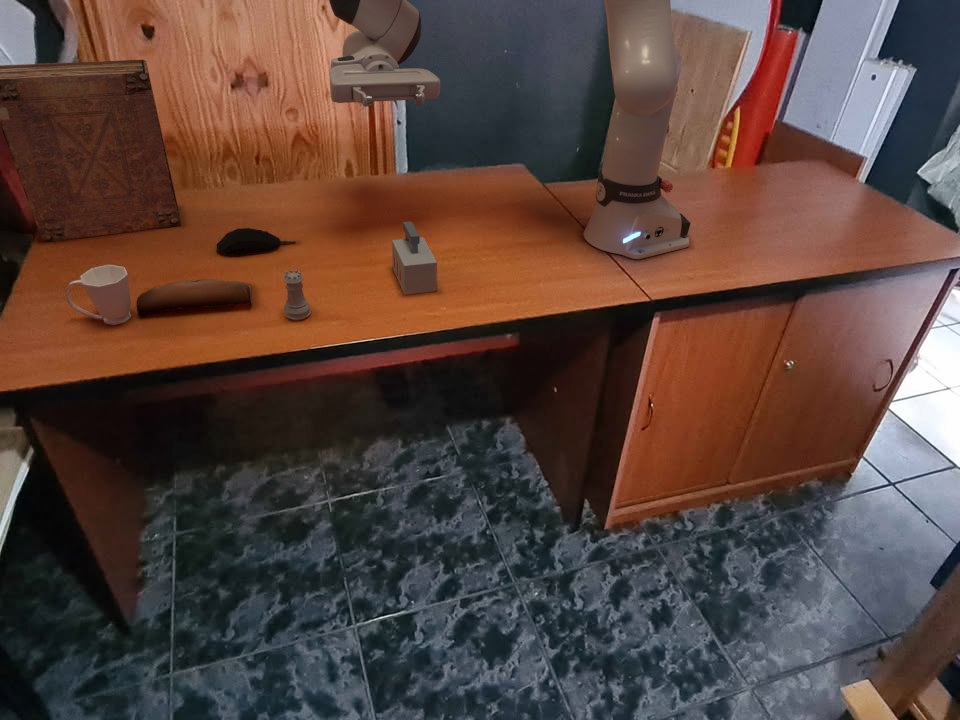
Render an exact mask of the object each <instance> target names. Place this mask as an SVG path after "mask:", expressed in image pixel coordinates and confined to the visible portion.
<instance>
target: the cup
mask: <svg viewBox="0 0 960 720" xmlns="http://www.w3.org/2000/svg"><path fill="white" fill-rule="evenodd" d="M72 286H80V287H81V286H82V287H83V288H84V290H85V291H86V293H87V295H88V297H89V299H90V301H91V302H92V304H93V306H94V308H95V310H96V311H97V312H98V314H96V313H93V312H91V311H88V310H86V309H84V308H81V307H79V306H78V305H77V304H75V303H74V301H72V299H71V296H70V289H71V287H72ZM65 299H66V302H67V304H68V305H69V306H70V307H71V308H72V310H74V311H76V312H77V313H80V314H82V315H84V316H87V317H90V318H92V319H95V320H103V322H104V324H107V325H111V326H115V325H120V324H124V323H126V322H127V321H128V320H130V319H131V318H132V314H131V292H130V281H129V274H128V271H127V269H126V268H125V266H121V265H116V264H104V265H100V266H94V267H91V268H90V269H88V270H86V271H84V272H83V273H82V274H81V275H80V276H79V279H75V280H72V281H70V282H69V283H68V285H67V287H66V288H65Z"/></svg>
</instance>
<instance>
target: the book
mask: <svg viewBox="0 0 960 720" xmlns="http://www.w3.org/2000/svg"><path fill="white" fill-rule="evenodd" d="M158 113H159V112H158V108H157V105H156V99H155V95H154V90H153V86H152V82H151V77H150V72H149V67H148V62H147V60H144V59H127V60H125V59H124V60H103V61H100V60H99V61H76V62H74V61H73V62H72V61H71V62H51V63H50V62H49V63H24V64H23V63H22V64H0V129H1V131H2V134H3V137H4V139H5V142H6V145H7V147H8V150H9V153H10V156H11V159H12V162H13V164H14V167H15V169H16V173H17V175H18V178H19V180H20V184H21V186H22V189H23V191H24V192H23V193H24V195H25V197H26V200H27V202H28V205H29V208H30V211H31V214H32V216H33V219H34V222H35V224H36V228H37V231H38V233H39V235H40V238H41V241H42V242H43V243H51V242H58V241H59V242H60V241H67V240H76V239H84V238H91V237H92V238H93V237H100V236H107V235H115V234H123V233H131V232H132V233H133V232H139V231H147V230H155V229H163V228H170V227H178V226H179V227H180V226H182V221H181V215H180V209H179V205H178V200H177V195H176V191H175V187H174V182H173V178H172V173H171V168H170V164H169V158H168V155H167V150H166V145H165V141H164V136H163V132H162V127H161V122H160V118H159V114H158Z"/></svg>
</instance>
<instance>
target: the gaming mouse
mask: <svg viewBox="0 0 960 720" xmlns="http://www.w3.org/2000/svg"><path fill="white" fill-rule="evenodd" d="M296 243H297V242H296V241H295V240H293V241H292V240H281V239H280V238H279V237H278V236H276V235H274V234H272V233H270V232H269V231H268V230H262V229H257V228H251V227H243V228H236V229H234V230H231V231H229V232H226V233H225V234H224V236H222V238H221V239H220V240H219V241H218V242H217V243H216V250H217V251H219V252H220V253H222V254H224V255H227V256H237V257H239V256H247V255H254V254H261V253H268V252H273V251H275V250H277V249H278V248H279V247H280V245H282V244H283V245H287V244H296Z"/></svg>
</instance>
